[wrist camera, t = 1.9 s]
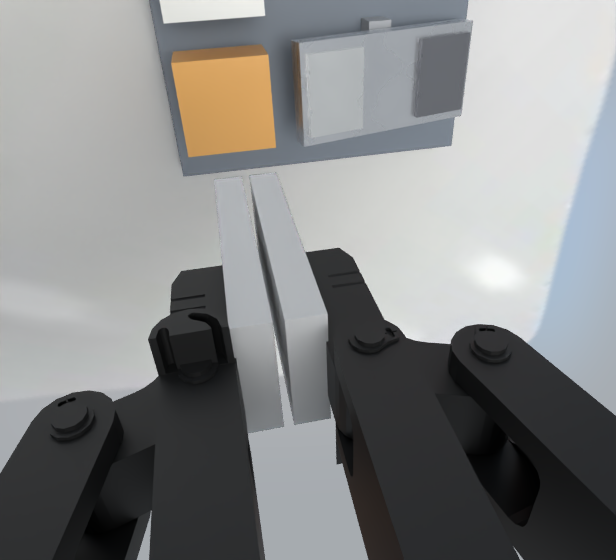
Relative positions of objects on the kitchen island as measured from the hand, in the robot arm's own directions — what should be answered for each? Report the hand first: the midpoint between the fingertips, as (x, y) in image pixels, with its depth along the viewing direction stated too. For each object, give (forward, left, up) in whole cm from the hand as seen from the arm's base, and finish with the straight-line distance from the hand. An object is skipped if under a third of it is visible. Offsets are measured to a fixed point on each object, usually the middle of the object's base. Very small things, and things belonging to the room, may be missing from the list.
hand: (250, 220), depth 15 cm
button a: (0, 0, -15) cm, 15 cm away
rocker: (+8, 0, -14) cm, 16 cm away
